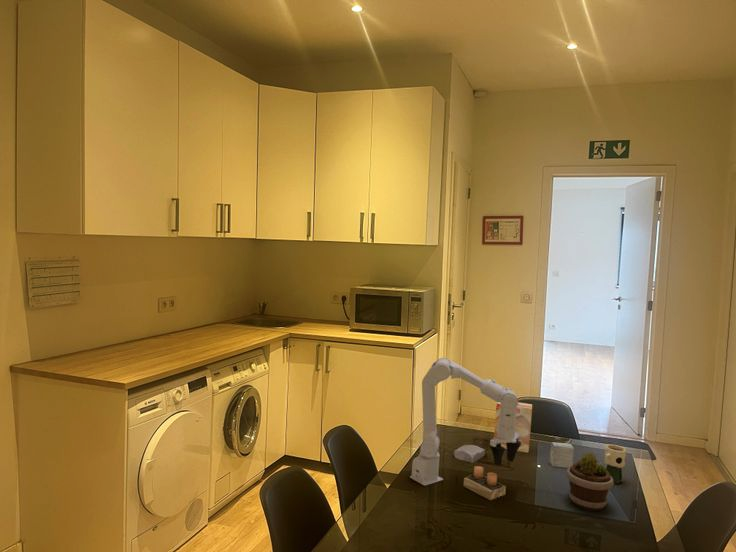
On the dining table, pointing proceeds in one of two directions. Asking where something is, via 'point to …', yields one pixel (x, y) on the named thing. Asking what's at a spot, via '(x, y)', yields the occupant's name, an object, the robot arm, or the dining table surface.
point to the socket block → (484, 487)
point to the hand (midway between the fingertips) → (503, 462)
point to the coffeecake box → (518, 424)
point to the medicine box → (561, 455)
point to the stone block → (469, 453)
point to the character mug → (615, 461)
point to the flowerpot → (589, 483)
